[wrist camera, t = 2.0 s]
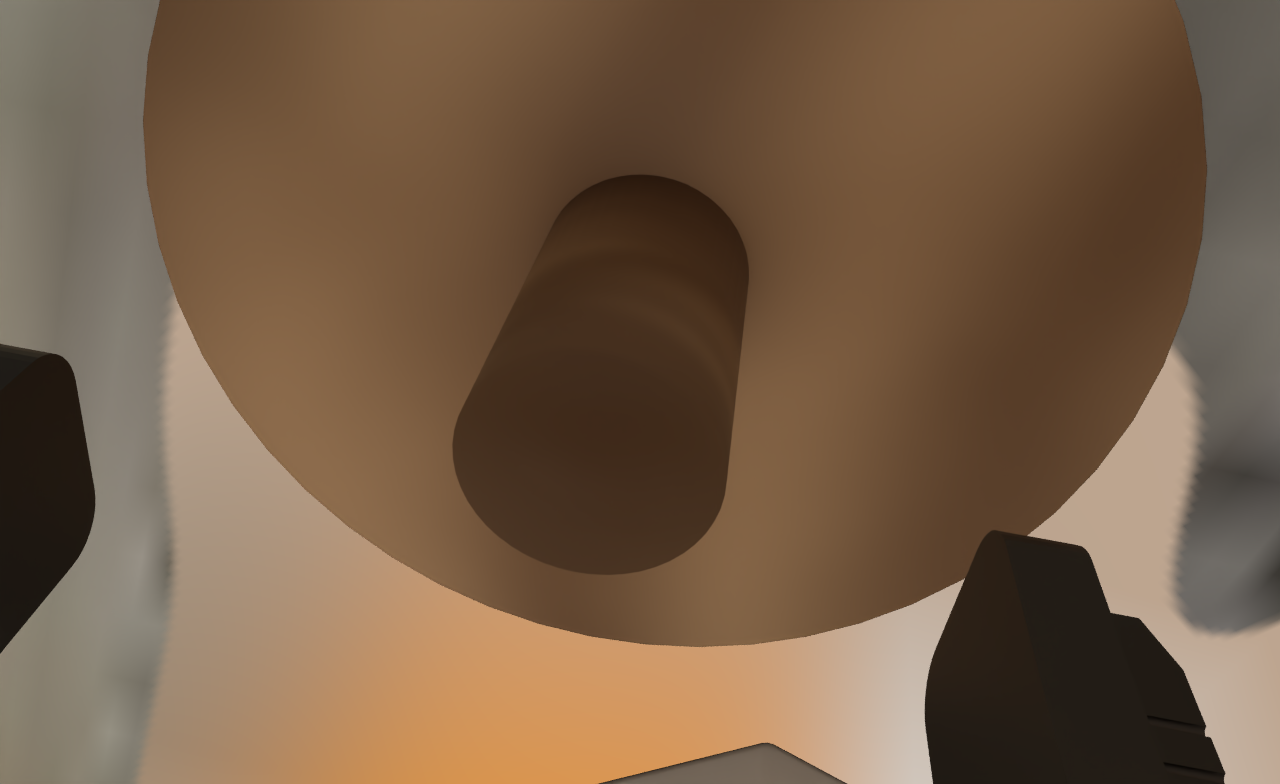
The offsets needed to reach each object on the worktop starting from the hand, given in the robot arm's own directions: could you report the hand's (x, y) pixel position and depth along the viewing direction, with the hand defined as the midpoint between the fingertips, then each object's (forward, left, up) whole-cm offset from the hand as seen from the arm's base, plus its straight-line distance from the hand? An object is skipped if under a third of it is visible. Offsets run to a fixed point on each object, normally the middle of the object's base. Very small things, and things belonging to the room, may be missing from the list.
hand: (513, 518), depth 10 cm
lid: (0, 0, -7) cm, 7 cm away
